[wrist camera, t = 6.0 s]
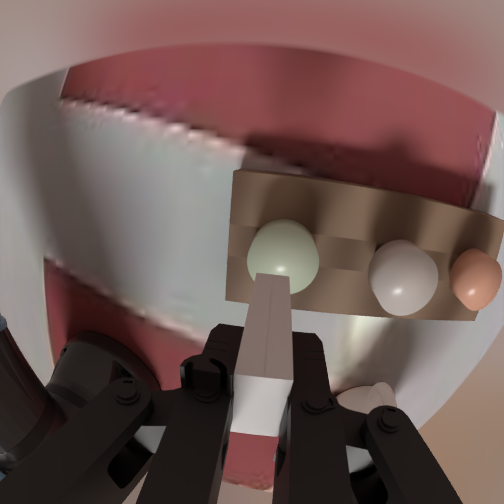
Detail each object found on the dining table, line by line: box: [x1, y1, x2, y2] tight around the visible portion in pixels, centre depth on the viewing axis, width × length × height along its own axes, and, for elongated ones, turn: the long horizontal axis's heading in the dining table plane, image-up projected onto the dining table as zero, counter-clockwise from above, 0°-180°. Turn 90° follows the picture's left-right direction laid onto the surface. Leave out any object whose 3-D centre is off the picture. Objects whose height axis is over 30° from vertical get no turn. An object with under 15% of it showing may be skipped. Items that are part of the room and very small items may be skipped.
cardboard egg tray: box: [225, 169, 504, 321], centre depth 21 cm, size 24×10×3 cm, turn 85°
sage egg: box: [247, 219, 319, 294], centre depth 19 cm, size 4×4×4 cm
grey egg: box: [368, 240, 438, 316], centre depth 17 cm, size 4×4×4 cm
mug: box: [336, 382, 397, 414], centre depth 23 cm, size 12×8×10 cm
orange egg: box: [449, 248, 502, 311], centre depth 18 cm, size 4×4×4 cm
